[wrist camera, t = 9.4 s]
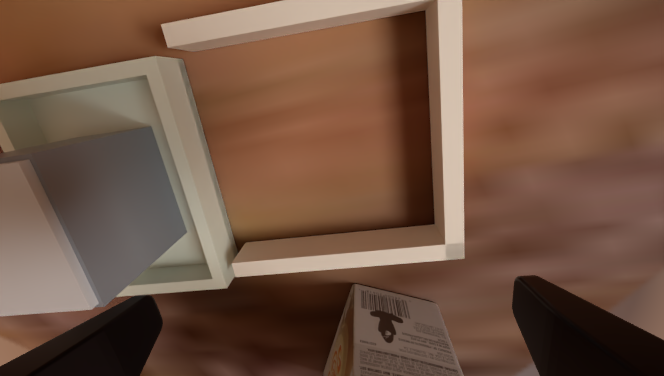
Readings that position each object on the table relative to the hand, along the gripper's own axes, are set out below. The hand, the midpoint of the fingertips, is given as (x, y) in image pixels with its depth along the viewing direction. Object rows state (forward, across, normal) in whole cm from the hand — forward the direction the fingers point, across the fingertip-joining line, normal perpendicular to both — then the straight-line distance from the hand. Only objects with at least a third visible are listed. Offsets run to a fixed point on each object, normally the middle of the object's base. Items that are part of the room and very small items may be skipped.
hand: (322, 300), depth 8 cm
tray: (+12, +13, 0) cm, 18 cm away
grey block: (+11, +13, 0) cm, 17 cm away
